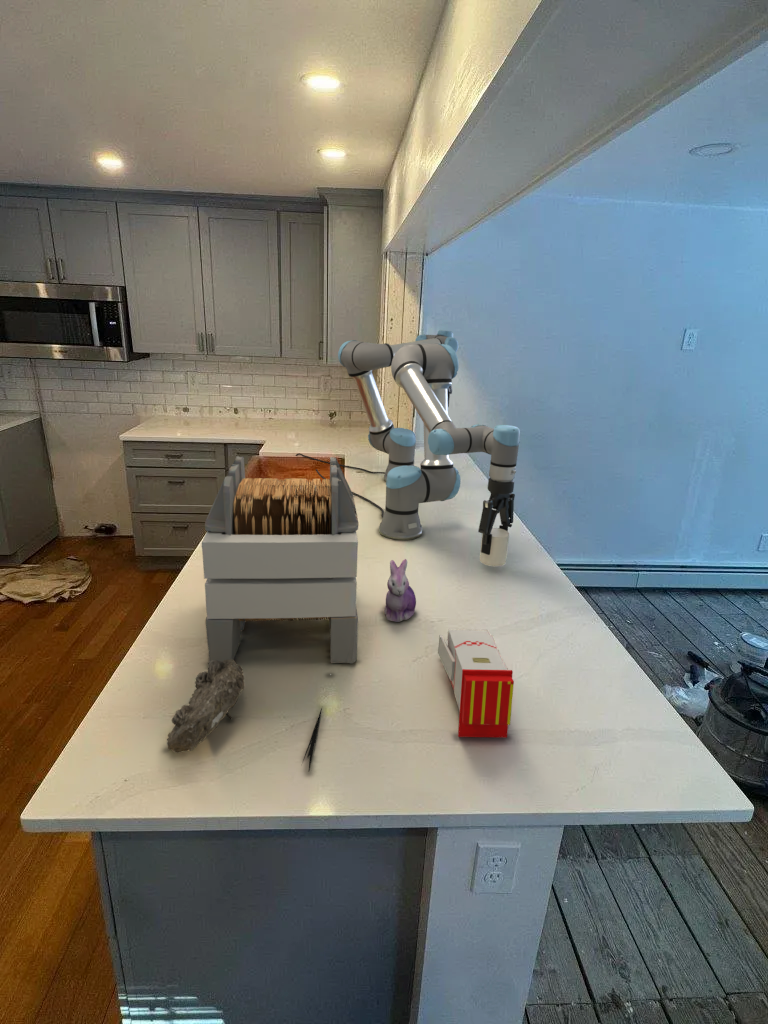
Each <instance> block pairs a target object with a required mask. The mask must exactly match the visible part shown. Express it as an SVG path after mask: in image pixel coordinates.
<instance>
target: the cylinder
mask: <svg viewBox="0 0 768 1024" xmlns="http://www.w3.org/2000/svg"><path fill="white" fill-rule="evenodd" d="M490 534H492V540H491V549H490V555H487V554H484V553H482V552H481V550H479V551H480V552H479V562H480V563H482V564H483V565H486V566H489V567H502V566H504V565H506V563H507V557H508V547H509V540H510V532H509V530H508V531H506V530H504V529H501V528H499V527H492V530H491V533H490ZM482 537H483V533H481V538H482ZM481 548H482V540H481V543H480V549H481Z"/></svg>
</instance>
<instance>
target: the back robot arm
mask: <svg viewBox="0 0 768 1024" xmlns="http://www.w3.org/2000/svg"><path fill="white" fill-rule="evenodd" d="M407 344H444V345H449V346H451V347H452V348H453V350H454V351H455V352H456V353H457V352H458V350H459V341H458V339H457V338H455V337H454V332H453V331H452V330H441V329H440V330H438V331H437V334H418V335H417V336H416V337H415V340H414V341H408V342H407V341H406V342H402V343H395V344H389V343H388V342H386V343H374V342H368V341H360V340H359V341H358V340H356V339H355V340H354V339H353V340H347V341H345V342H343V343H342V344H341V346H340V347H339V349H338V352H337V359H338V362H339V363H340V365H341V366H343V368H345V369H346V372H347V375H348V377H349V378H351V379H353V380H354V381H353V382H354V384H355V386H356V389H357V392H358V394H359V397H360V400H361V403H362V406H363V409H364V411H365V414H366V416H367V420H368V422H369V427H368V435H367V438H368V442H369V444H370V446H371V447H372V448H373V449H375V450H377V451H379V452H383V453H385V454H387V455H388V463H387V467H386V469H385V471H372V470H368V469H365V468H361V467H357V466H350V465H344V464H340V463H339V466H340V467H342V468H348V469H354V470H359V471H363V472H366V473H369V474H379V475H383V481H384V482H386V480H387V474H388V472H389V471H390V470H391V469H393V468H395V467H399V466H406V465H407V466H410V465H411V466H415V454H416V453H415V452H416V442H417V440H416V433H415V432H414V431H413V430H411V429H409V428H405V427H395V426H394V425H395V424H394V422H393V420H392V419H390V418H388V414H387V412H386V409H385V407H384V403H383V400H382V397H381V395H380V391H379V388H378V386H377V383H376V380H375V377H374V374H373V371H374V370H380V369H384V368H391V363H392V359H393V357H394V355H395V353H396V352H397V351H398V350H399V349H400V348H401V347H403V346H405V345H407ZM452 394H453V385H452V384H451V385H450V386H449V388H448V408H450V397H451V396H450V395H452ZM295 456H296V457H297V456H301V457H304V458H306V459H310V460H313V461H316V462H320V463H323V464H328V465H330V461H325V460H321V459H318V458H314V457H312V456H308V455H305V454H303V453H299V452H298V453H296V454H295Z"/></svg>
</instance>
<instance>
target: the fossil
mask: <svg viewBox="0 0 768 1024" xmlns="http://www.w3.org/2000/svg"><path fill="white" fill-rule="evenodd" d="M243 670H244V669H243V667H242V665H240V664H237V662H236V661H235V659H234V660H232V659H231V660H228V659H227V660H224V661H223V662H222V661H217V660H212V661H211V662H210V665H209V664H208V666H207V671H201V672H199V673H198V674H197V675H196V676H195V680H194V684H195V685H194V687H195V689H194V690H193V693H192V694H191V697H190V698H189V700H188V704H184V705H182V706H181V707H180V709H177V710H176V711H175V713H174V715H173V716H172V718H171V723H172V724H173V727H172V730H171V731H170V732H168V734H167V738H166V741H167V742H166V745H167V749H168V750H169V751H173V752H174V753H176V754H178V753H182V752H188V751H189V752H192V751H193V750H195V748H196V747H197V746H199V744H200V743H201V742H203V741H204V740H205V739H206V738H207V737H208V736H209V735H210V734H211V733H212V732H214V730H215V729H217V727H218V726H219V724H220V722H221V721H222V720H223V719H224V718H225V716H226V717H227V719H229V720H233V717H232V715H230V714H229V710H230V709H231V708H234V706H235V704H236V703H237V702H238V699H239V697H240V695H241V693H242V691H243V690H245V689H244V688H245V675H244V671H243Z"/></svg>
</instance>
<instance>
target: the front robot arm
mask: <svg viewBox="0 0 768 1024" xmlns="http://www.w3.org/2000/svg"><path fill="white" fill-rule="evenodd" d="M459 365H460V364H459V358H458V354H457V352H455V351H454V350H453V348H452V347H451V346H449V345H444V344H407V345H405V346H403V347H401V348H400V349H399V350H398V351H397V352H396V353H395V355H394V357H393V359H392V363H391V366H390V370H391V375H392V379H393V381H394V382H395V383H396V385H397V386H398V387H399V388H402V390H403V391H404V393H405V394H406V396H407V398H408V399H409V401H410V403H411V404H412V406H413V407H414V410H415V411H416V412H417V414H418V416H419V418H420V419H421V421H422V423H423V449H424V450H423V451H424V453H423V455H424V459H423V461H421V463H420V464H419V465H420V466H416V465H414V466H411V465H410V466H407V465H406V466H399V467H395V468H393V469H391V470H390V471H389V472H388V474H387V480H386V481H385V504H384V505H385V507H384V508H385V509H383V507H381V506H380V505H378V504H377V503H375V502H373V501H371V500H370V499H369V498H366V497H364V496H363V495H360V494H358V493H356V492H354V491H352V490H351V492H352V494H353V496H357V497H359V498H361V499H363V500H364V501H367V502H368V503H369V504H372V505H373V506H374V507H376V508H378V509H379V510H380V511H381V522H379V526H378V533H379V534H380V535H381V536H382V537H385V538H387V539H389V540H395V541H410V540H415V539H418V538H420V537H421V536H422V535H423V525H422V524H421V518H420V515H419V507H420V506H419V505H420V504H425V503H426V504H427V503H433V502H445V501H447V500H453V499H454V498H455V497H456V495H458V493H459V491H460V488H461V480H462V479H461V474H460V471H459V470H458V469H457V468H456V467H455V466H454V462H453V461H452V460H451V459H450V455H458V454H459V455H460V454H471V453H485V454H487V455H490V464H489V471H488V476H489V478H488V480H487V491H489V493H490V495H489V498H488V500H483V501H482V510H481V516H480V520H479V526H478V533H480V534H482V533H483V537H482V536H481V541H482V548H481V547H480V551H481V552H482V553H484V554H487V555H490V549H491V540H492V534H490V533H491V530H492V528H494V524H495V521H496V519H497V515H498V514H499V519H500V525H498V528H501V529H504V530H506V531H508V532H509V528H512V527H513V523H514V514H515V513H514V510H515V509H514V507H515V506H514V505H515V497H516V494H515V493H513V492H514V490H515V489H514V488H515V478H516V473H517V462H518V456H519V455H518V454H519V449H520V444H521V441H520V440H521V439H520V438H521V430H520V428H519V427H517V426H514V425H510V424H497V425H495V426H494V428H492V427H490V426H488V425H485V424H479V423H478V424H477V423H476V424H473V425H471V426H470V427H456V425H455V423H454V422H453V421H452V419H451V418H450V416H449V407H448V388H449V386H450V385H452V384H453V379H454V378H456V376H457V375H458V372H459V368H460V367H459ZM315 471H316V474H317V475H318V476H319V477H320V478H322V479H323V480H324V479H327V478H325V477H324V476H323V475H322V474H321V473H320V471H319V470H318V468H315Z"/></svg>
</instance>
